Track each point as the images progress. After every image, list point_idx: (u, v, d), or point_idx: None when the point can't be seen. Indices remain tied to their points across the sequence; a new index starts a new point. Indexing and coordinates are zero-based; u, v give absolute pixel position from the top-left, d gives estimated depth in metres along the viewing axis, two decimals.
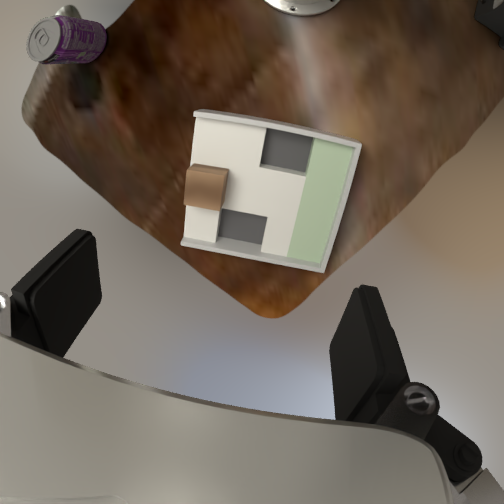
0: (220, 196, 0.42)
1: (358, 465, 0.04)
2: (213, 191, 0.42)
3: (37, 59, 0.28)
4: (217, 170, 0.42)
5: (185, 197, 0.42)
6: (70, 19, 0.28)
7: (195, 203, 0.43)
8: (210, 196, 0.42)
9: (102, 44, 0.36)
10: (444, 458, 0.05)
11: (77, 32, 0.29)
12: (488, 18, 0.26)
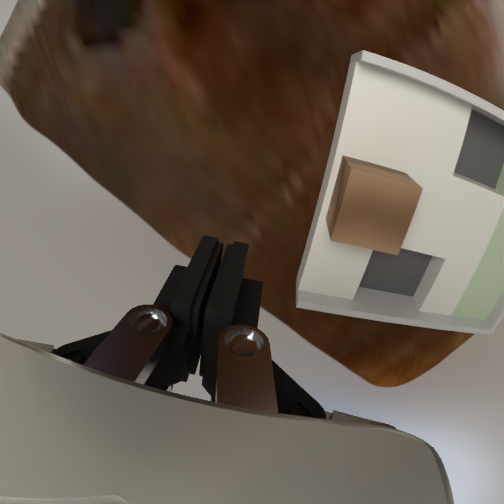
0: (406, 228, 0.20)
1: (358, 465, 0.04)
2: (395, 218, 0.19)
3: None
4: (397, 175, 0.20)
5: (337, 226, 0.20)
6: None
7: (355, 239, 0.20)
8: (387, 227, 0.20)
9: None
10: None
11: None
12: None
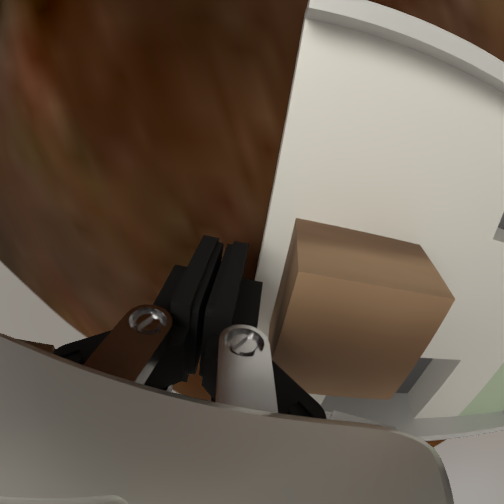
0: (411, 364, 0.10)
1: (358, 465, 0.04)
2: (391, 353, 0.09)
3: None
4: (405, 261, 0.10)
5: None
6: None
7: (311, 386, 0.10)
8: (375, 367, 0.10)
9: None
10: None
11: None
12: None
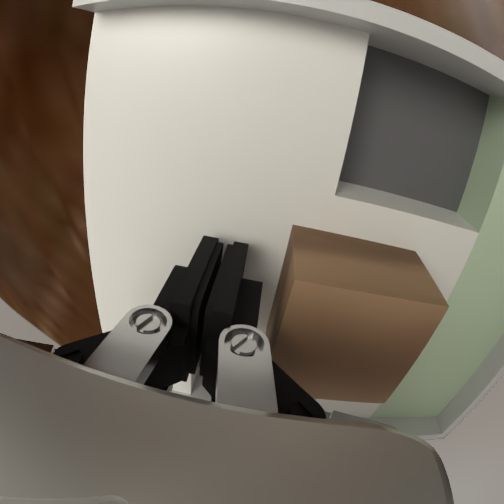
0: (406, 369, 0.10)
1: (358, 465, 0.04)
2: (386, 359, 0.10)
3: None
4: (400, 268, 0.10)
5: None
6: None
7: (307, 390, 0.11)
8: (369, 372, 0.10)
9: None
10: None
11: None
12: None
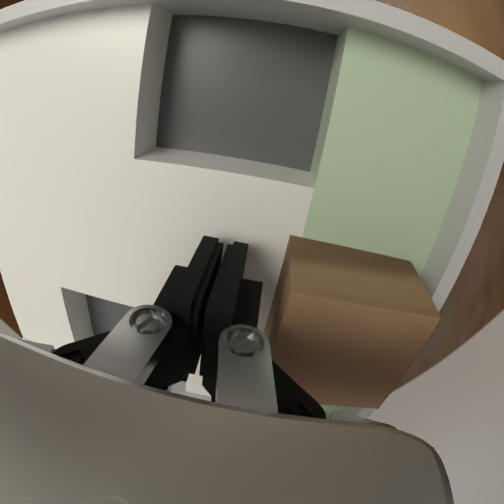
0: (398, 376, 0.10)
1: (358, 465, 0.04)
2: (379, 366, 0.10)
3: None
4: (394, 279, 0.10)
5: None
6: None
7: None
8: (363, 379, 0.10)
9: None
10: None
11: None
12: None
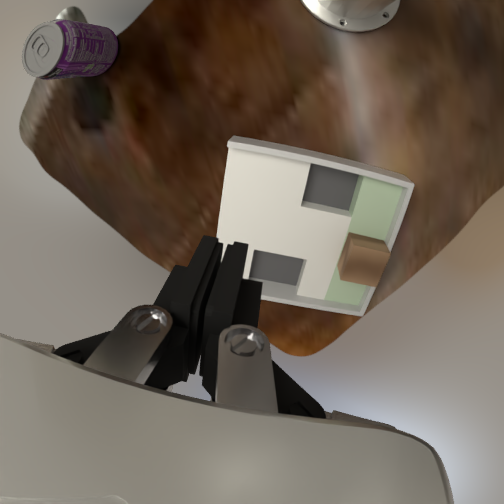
0: (381, 273, 0.38)
1: (358, 465, 0.04)
2: (375, 268, 0.37)
3: (35, 74, 0.23)
4: (378, 244, 0.38)
5: (344, 273, 0.38)
6: (75, 24, 0.23)
7: (353, 279, 0.38)
8: (371, 273, 0.38)
9: (113, 54, 0.31)
10: None
11: (83, 40, 0.25)
12: None
